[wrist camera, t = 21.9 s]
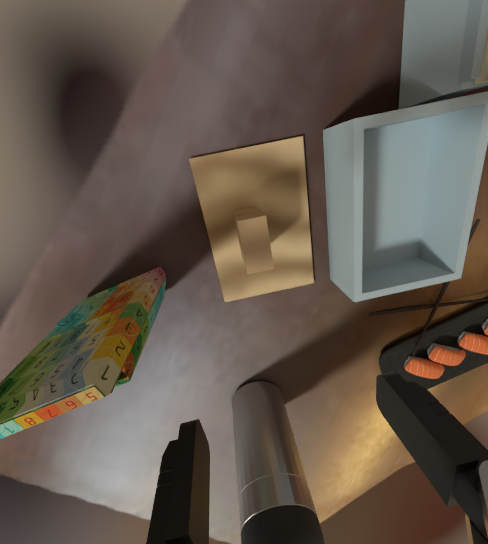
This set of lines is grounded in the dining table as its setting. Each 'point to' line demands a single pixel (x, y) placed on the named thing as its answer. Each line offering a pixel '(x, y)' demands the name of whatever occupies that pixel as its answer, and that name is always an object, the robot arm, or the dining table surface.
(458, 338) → the sushi plate
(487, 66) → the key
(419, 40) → the toolbox
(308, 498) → the robot arm
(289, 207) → the lid
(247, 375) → the dining table surface
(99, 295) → the puzzle game
